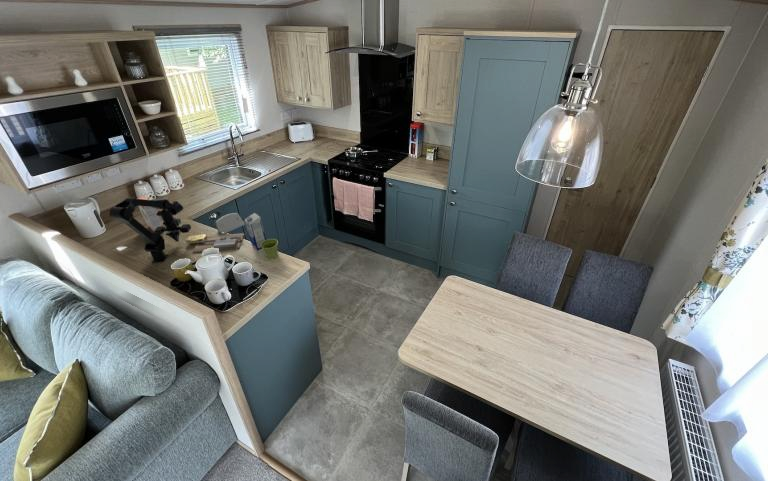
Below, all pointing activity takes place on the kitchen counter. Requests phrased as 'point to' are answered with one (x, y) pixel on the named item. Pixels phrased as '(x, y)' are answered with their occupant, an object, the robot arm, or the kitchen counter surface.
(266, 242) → the plant pot
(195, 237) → the brass leaf
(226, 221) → the grey rounded flat block
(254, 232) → the milk carton
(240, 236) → the hinge bed
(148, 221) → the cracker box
